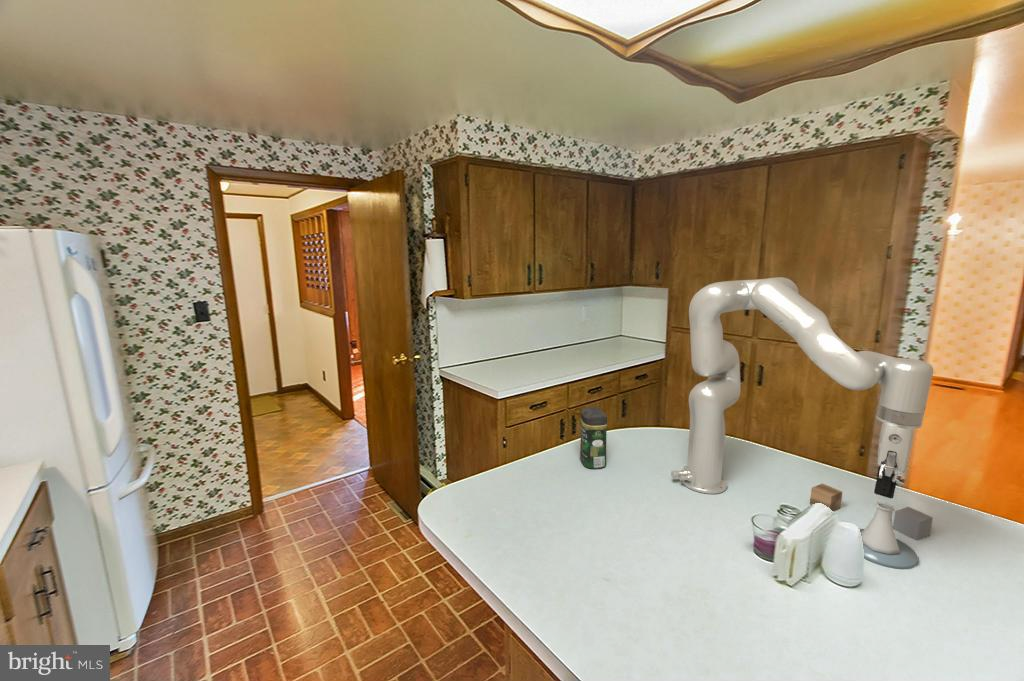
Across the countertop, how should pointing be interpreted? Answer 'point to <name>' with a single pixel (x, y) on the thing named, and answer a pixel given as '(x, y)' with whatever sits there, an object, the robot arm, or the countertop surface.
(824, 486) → the walnut block
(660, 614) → the countertop surface
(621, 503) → the countertop surface
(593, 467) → the coffee jar
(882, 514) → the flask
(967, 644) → the countertop surface
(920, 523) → the charcoal block
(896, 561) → the slate plate
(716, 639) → the countertop surface
